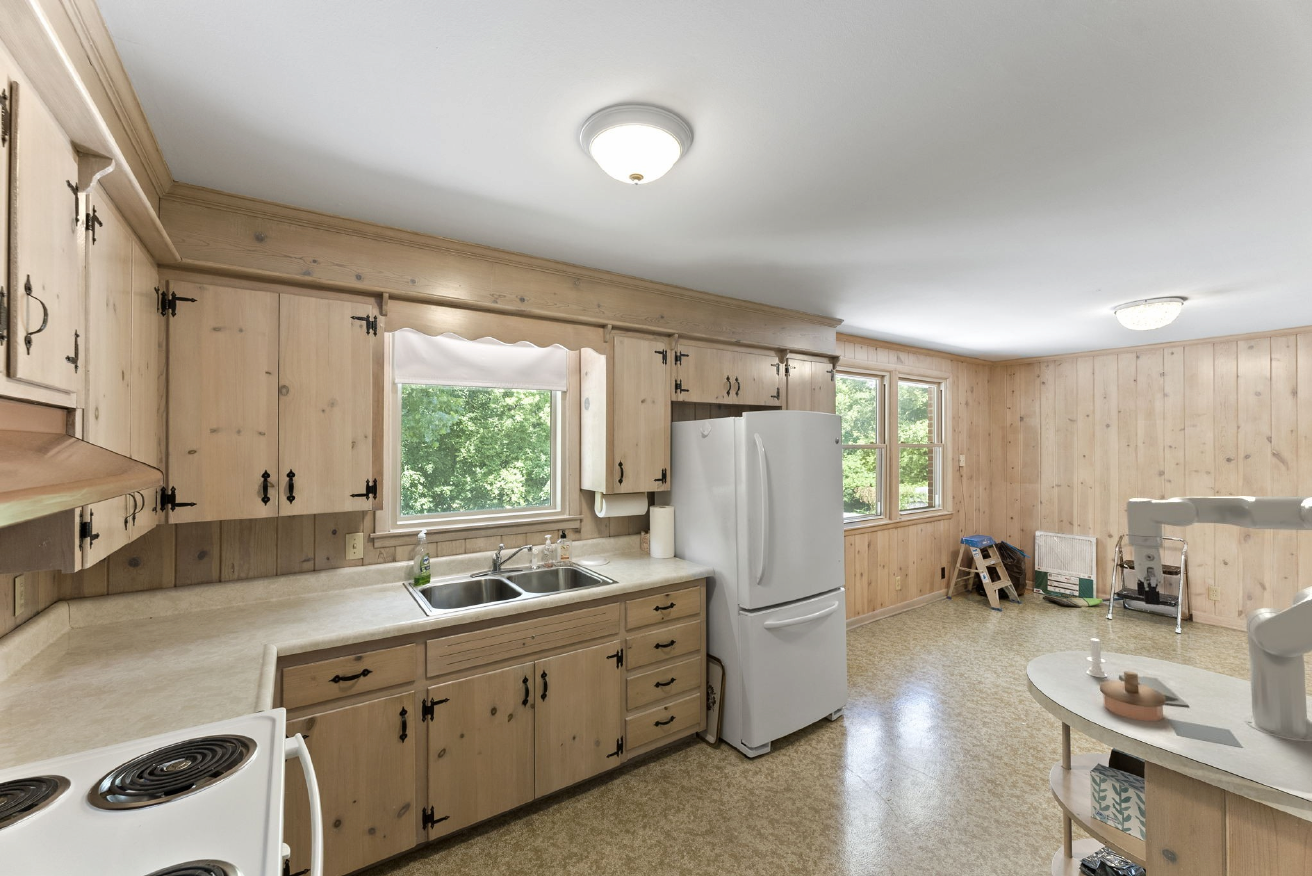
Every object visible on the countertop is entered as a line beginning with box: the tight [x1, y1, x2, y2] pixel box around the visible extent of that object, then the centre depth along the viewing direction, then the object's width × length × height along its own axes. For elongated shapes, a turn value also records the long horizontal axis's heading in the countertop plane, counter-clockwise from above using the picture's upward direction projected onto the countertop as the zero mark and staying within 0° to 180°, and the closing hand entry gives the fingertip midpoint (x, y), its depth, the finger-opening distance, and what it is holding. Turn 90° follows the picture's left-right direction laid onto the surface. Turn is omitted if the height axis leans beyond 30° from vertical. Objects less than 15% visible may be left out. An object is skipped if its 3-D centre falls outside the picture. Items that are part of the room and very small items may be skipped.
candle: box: [1086, 637, 1108, 678], centre depth 181 cm, size 5×5×12 cm
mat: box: [1167, 718, 1244, 749], centre depth 142 cm, size 12×10×1 cm
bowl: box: [1102, 693, 1164, 722], centre depth 155 cm, size 12×12×5 cm
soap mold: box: [1118, 674, 1190, 708], centre depth 166 cm, size 10×20×4 cm, turn 158°
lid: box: [1099, 670, 1166, 707], centre depth 155 cm, size 14×14×6 cm
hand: (1148, 600), depth 160 cm, fingers open, 9 cm apart
